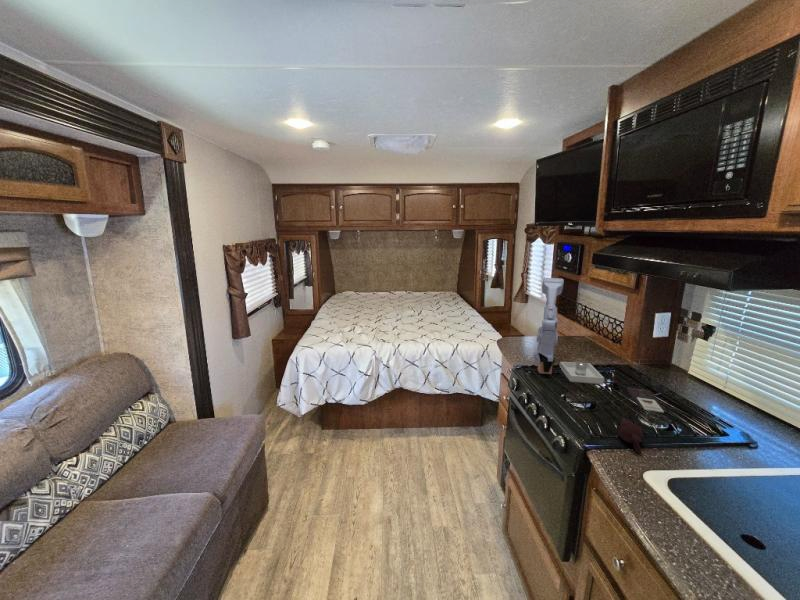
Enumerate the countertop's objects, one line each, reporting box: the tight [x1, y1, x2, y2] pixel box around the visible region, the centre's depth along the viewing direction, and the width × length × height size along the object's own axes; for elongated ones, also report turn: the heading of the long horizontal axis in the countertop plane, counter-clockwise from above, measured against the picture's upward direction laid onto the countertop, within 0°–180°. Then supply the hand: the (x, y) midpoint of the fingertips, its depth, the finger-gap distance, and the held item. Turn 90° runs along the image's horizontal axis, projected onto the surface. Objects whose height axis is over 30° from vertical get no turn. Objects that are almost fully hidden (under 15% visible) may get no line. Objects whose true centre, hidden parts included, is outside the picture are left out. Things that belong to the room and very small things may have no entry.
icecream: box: [616, 416, 644, 455], centre depth 108 cm, size 7×7×15 cm
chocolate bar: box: [625, 386, 669, 414], centre depth 133 cm, size 9×1×18 cm
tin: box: [575, 360, 588, 376], centre depth 154 cm, size 4×4×6 cm
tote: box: [559, 361, 605, 385], centre depth 155 cm, size 16×14×3 cm
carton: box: [537, 361, 553, 375], centre depth 158 cm, size 4×6×4 cm
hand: (544, 369), depth 158 cm, fingers open, 5 cm apart
